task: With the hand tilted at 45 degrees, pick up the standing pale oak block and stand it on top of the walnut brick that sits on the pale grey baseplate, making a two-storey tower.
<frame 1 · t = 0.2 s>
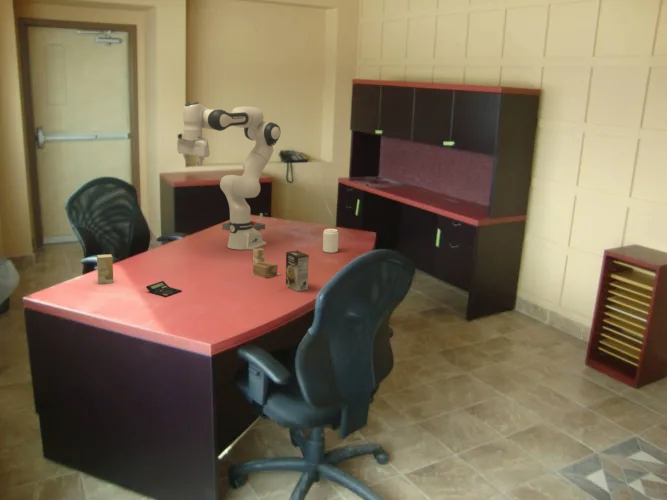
hand: (193, 164, 312), 48 cm above the table, tool pointing down, fingers open, 8 cm apart
oak block: (258, 264, 316), on the table
baseplate: (266, 275, 299), on the table
beverage can: (330, 251, 344), on the table
walnut brick: (265, 274, 298), point 1 cm above the table, touching baseplate
skincare box: (106, 282, 283), on the table
coffee box: (296, 288, 283), on the table
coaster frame: (243, 228, 389), on the table
calculator: (164, 292, 273), on the table
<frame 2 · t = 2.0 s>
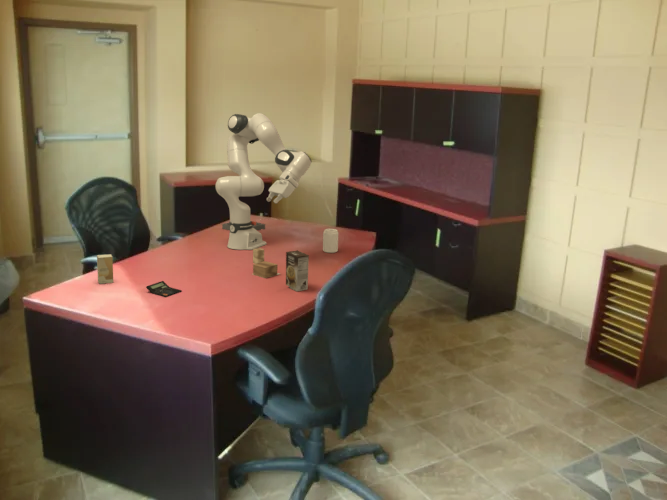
hand: (271, 201, 313), 31 cm above the table, tool tilted 40°, fingers open, 8 cm apart
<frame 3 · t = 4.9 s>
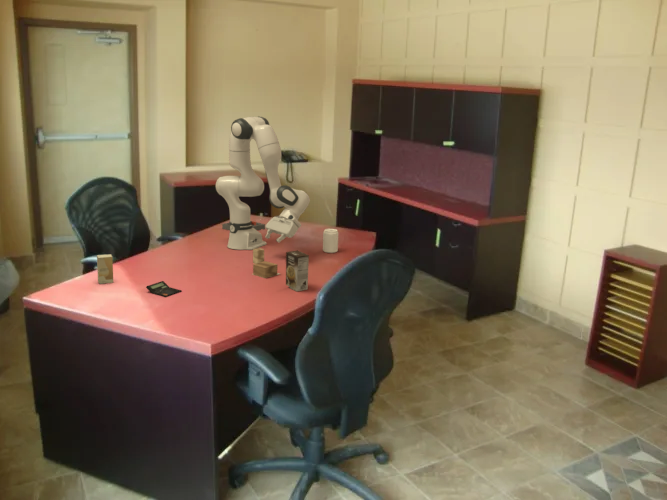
hand: (272, 239, 318), 12 cm above the table, tool tilted 45°, fingers open, 8 cm apart
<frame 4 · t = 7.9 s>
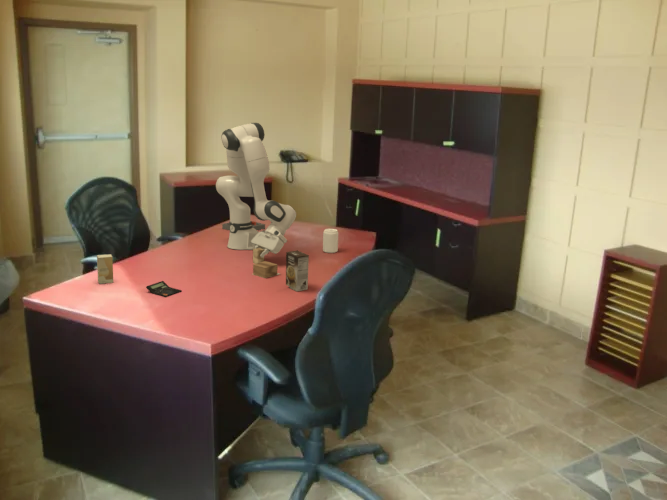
hand: (257, 255, 314), 5 cm above the table, tool tilted 45°, fingers closed on oak block, 4 cm apart
oak block: (258, 264, 316), on the table, touching gripper
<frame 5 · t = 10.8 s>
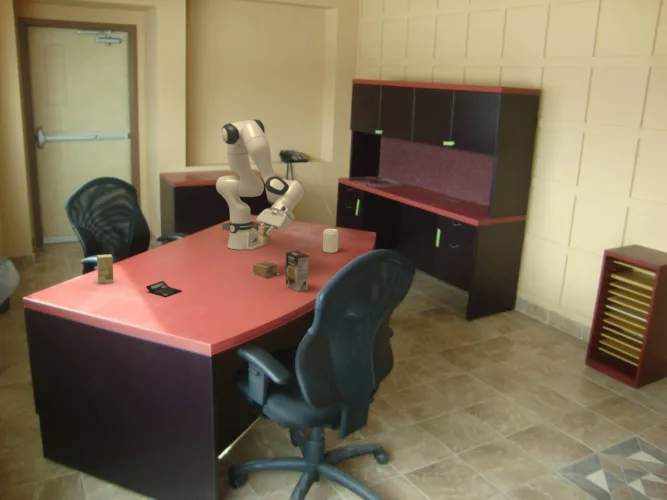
hand: (263, 233, 294), 21 cm above the table, tool tilted 45°, fingers closed on oak block, 4 cm apart
oak block: (264, 243, 295), point 16 cm above the table, touching gripper
when the fingers open (12 cm above the table, at t = 13.7 s): oak block stays where it is, resting on walnut brick.
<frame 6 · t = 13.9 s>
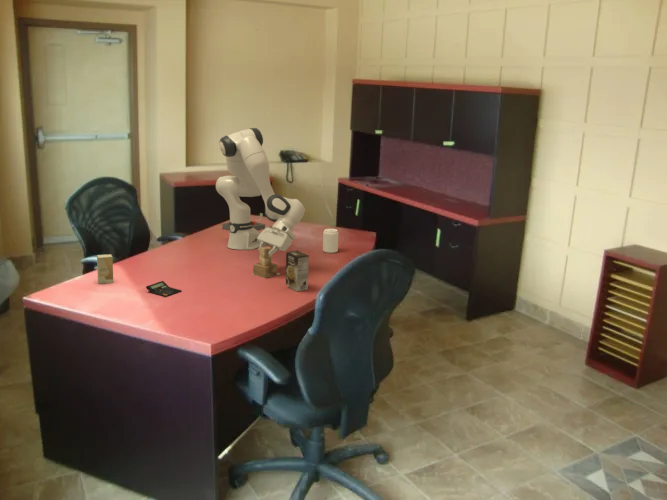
hand: (264, 252, 295), 12 cm above the table, tool tilted 45°, fingers open, 6 cm apart
oak block: (265, 264, 297), point 6 cm above the table, touching walnut brick
walnut brick: (265, 274, 298), point 1 cm above the table, touching baseplate, oak block
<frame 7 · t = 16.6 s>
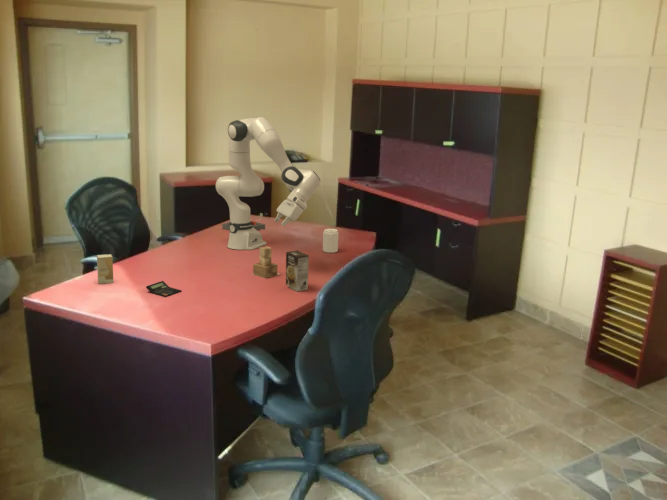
hand: (278, 223, 302), 23 cm above the table, tool tilted 40°, fingers open, 8 cm apart
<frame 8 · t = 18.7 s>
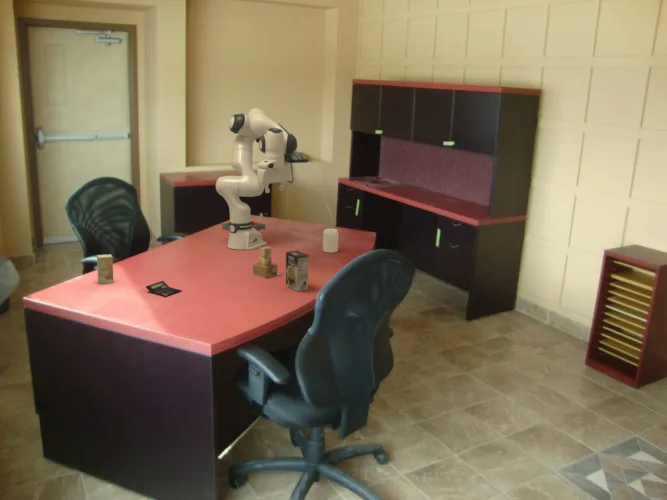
hand: (274, 191, 306), 37 cm above the table, tool pointing down, fingers open, 8 cm apart
at the end: oak block inside the target area on the walnut brick (0.0 cm from its centre), point 5.0 cm above the walnut brick's base; oak block tilted 0°; the gripper is holding nothing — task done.
